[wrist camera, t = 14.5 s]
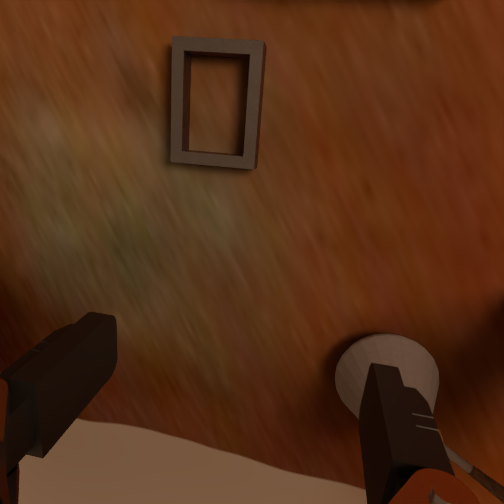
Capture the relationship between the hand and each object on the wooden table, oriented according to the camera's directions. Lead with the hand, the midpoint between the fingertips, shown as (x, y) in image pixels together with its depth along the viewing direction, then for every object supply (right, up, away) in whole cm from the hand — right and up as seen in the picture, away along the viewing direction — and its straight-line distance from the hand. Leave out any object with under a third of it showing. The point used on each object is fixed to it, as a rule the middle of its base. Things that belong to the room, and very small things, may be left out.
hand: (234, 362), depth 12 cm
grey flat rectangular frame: (-3, +19, +29) cm, 35 cm away
